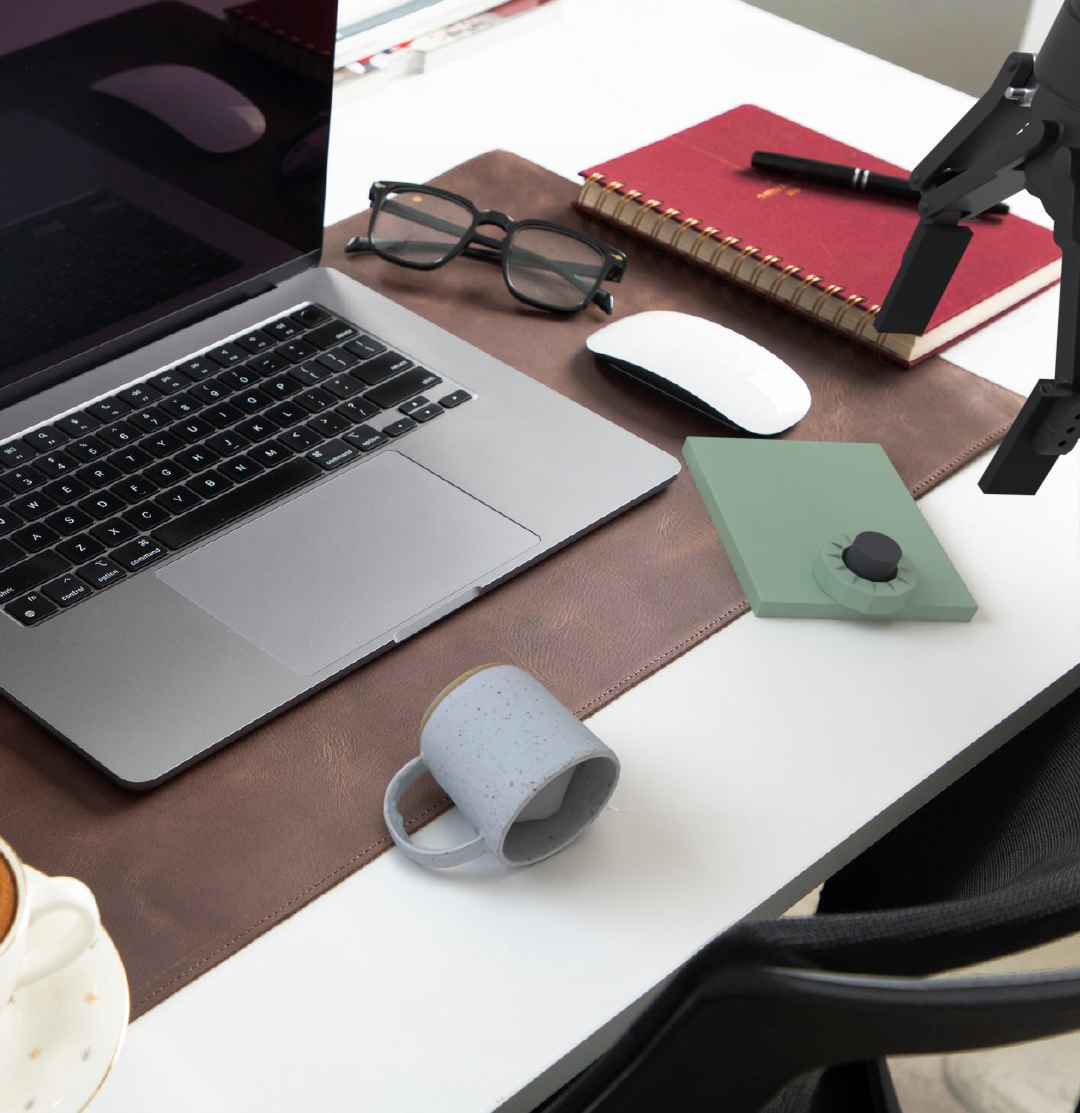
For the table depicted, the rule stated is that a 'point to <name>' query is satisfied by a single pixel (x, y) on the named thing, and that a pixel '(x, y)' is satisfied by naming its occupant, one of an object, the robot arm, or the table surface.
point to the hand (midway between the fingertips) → (947, 405)
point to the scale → (822, 530)
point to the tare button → (873, 556)
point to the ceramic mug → (506, 769)
